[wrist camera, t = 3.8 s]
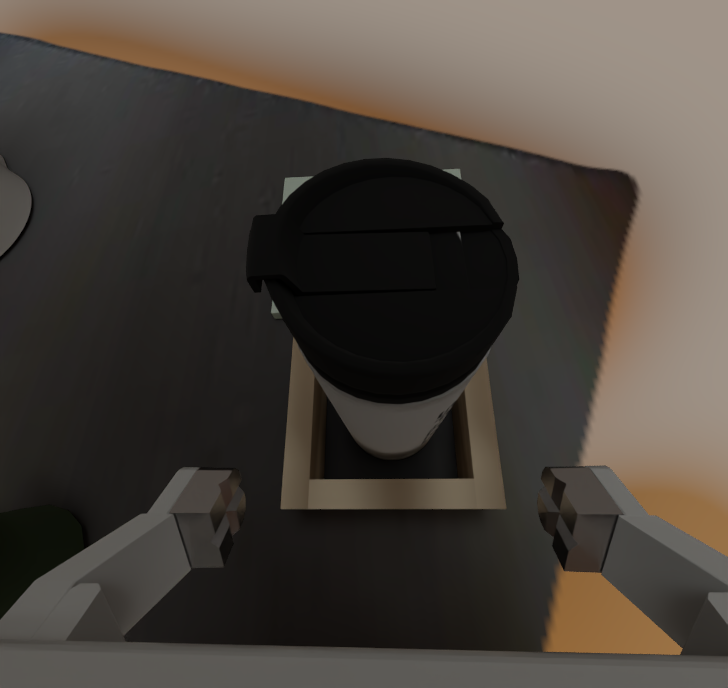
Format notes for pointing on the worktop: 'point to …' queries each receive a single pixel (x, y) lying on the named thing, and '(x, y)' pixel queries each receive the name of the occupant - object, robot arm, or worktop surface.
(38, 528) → the character mug
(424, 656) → the robot arm
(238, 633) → the worktop surface
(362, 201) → the travel mug
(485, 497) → the birch holder
